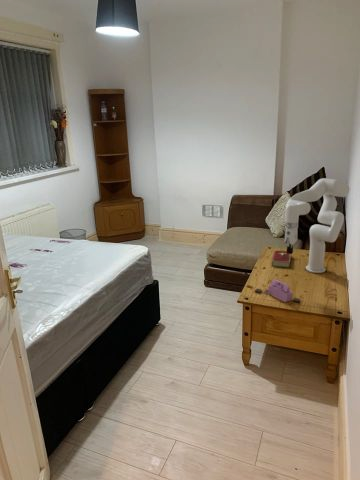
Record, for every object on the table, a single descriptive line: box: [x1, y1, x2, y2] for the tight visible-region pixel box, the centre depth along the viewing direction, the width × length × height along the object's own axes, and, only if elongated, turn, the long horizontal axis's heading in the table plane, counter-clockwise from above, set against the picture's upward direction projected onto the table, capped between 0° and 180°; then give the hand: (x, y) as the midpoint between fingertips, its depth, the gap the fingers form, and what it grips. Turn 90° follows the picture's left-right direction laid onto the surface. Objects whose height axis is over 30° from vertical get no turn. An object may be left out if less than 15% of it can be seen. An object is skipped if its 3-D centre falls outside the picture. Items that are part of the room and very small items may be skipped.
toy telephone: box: [264, 279, 294, 303], centre depth 209 cm, size 18×6×10 cm, turn 32°
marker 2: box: [292, 297, 301, 304], centre depth 204 cm, size 3×3×1 cm
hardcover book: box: [271, 249, 292, 269], centre depth 257 cm, size 12×21×4 cm, turn 162°
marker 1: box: [254, 288, 263, 294], centre depth 216 cm, size 3×3×1 cm
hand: (289, 253), depth 216 cm, fingers closed
